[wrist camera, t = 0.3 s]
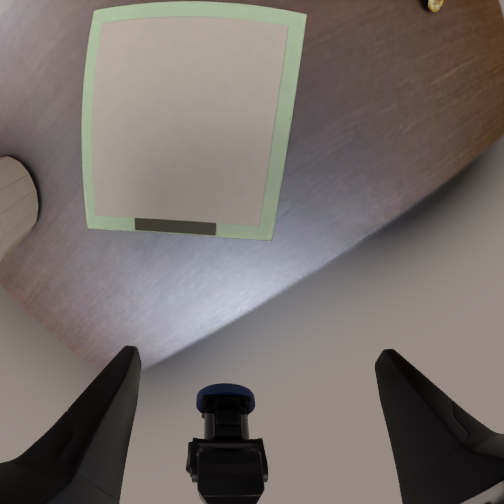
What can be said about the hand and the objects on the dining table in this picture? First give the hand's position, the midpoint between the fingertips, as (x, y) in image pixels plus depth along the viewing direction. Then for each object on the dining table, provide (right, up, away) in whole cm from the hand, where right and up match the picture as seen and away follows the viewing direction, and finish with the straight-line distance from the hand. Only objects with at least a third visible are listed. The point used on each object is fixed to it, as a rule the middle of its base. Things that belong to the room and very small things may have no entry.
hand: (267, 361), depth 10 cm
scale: (-5, +12, +6) cm, 14 cm away
